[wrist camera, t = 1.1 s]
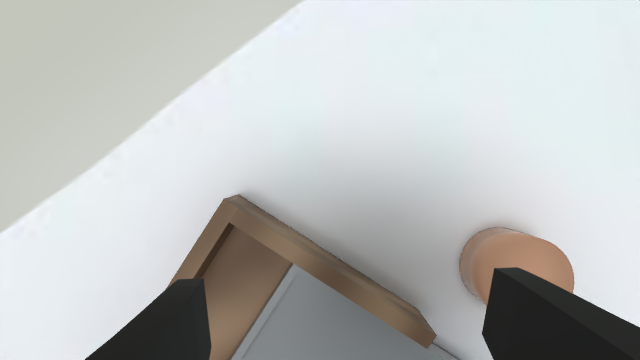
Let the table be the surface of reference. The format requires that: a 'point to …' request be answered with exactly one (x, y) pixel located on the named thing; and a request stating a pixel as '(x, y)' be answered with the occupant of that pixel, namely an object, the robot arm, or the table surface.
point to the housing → (275, 275)
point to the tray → (323, 327)
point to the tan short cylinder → (511, 259)
